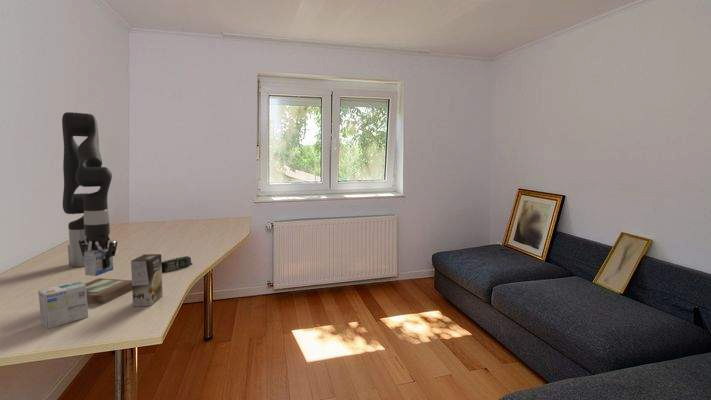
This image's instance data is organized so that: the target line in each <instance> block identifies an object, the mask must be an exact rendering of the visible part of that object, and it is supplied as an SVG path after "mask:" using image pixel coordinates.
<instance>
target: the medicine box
mask: <svg viewBox="0 0 711 400" xmlns="http://www.w3.org/2000/svg"><path fill="white" fill-rule="evenodd" d="M103 250H106V249H103ZM105 254H106V252H105ZM113 257H114V256H112V257H110V266H109V268H106V269H103V263H102V259H103V258H102V255H101V253H100V252H99V250H92V251H87V252H84V261H85V266H84V275H85V276H91V277H97V276H100V275H102V274H105V273H108V272H110V271H114V258H113Z"/></svg>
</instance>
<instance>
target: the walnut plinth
mask: <svg viewBox="0 0 711 400" xmlns="http://www.w3.org/2000/svg"><path fill="white" fill-rule="evenodd" d="M84 284H85V285H86V292H87V304H95V305H96V304H98V305H105V304H107V303H109V302H111V301H113V300H115V299H117V298H119V297H122V296H124V295H125V294H127V293H129V292H131V291H132V279H130V280H129V279H120V278H119V279H117V278H116V279H115V278H100V277H99V278H98V277H97V278H96V279H92V280H91V281H88V282H85V283H84Z"/></svg>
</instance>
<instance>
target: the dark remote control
mask: <svg viewBox="0 0 711 400" xmlns="http://www.w3.org/2000/svg"><path fill="white" fill-rule="evenodd" d="M191 265H193V262H192V259H191V256H188V255H187V256H181V257H176V258H172V259H167V260H163V261H162V273H167V271H168V272H170V271H171V270H172V271H175V269H176V270H180V269H183V268H184V269H185V268H186V267H189V266H191ZM179 268H180V269H179Z"/></svg>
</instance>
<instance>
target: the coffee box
mask: <svg viewBox="0 0 711 400" xmlns="http://www.w3.org/2000/svg"><path fill="white" fill-rule="evenodd" d="M130 262H131V263H130V264H131V265H130V267H131V280H132V290H131V291H132V293H131V294H132V306H133V307H142V306H143V307H151V306H153V305H154V304H155V303H157V301H159V300H160V299H161V298H163V296H164V294H163V272H162V262H163V261H162V254H159V253H153V254H152V253H150V254H141V255H140V256H138V257H136V258H134V259H132V260H130Z"/></svg>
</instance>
